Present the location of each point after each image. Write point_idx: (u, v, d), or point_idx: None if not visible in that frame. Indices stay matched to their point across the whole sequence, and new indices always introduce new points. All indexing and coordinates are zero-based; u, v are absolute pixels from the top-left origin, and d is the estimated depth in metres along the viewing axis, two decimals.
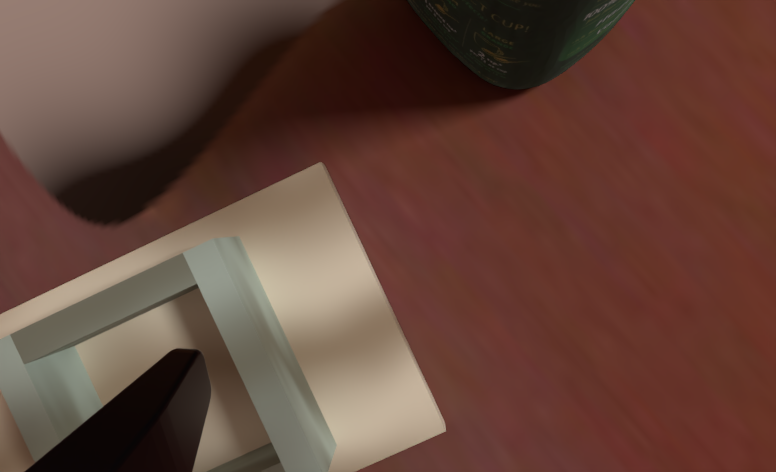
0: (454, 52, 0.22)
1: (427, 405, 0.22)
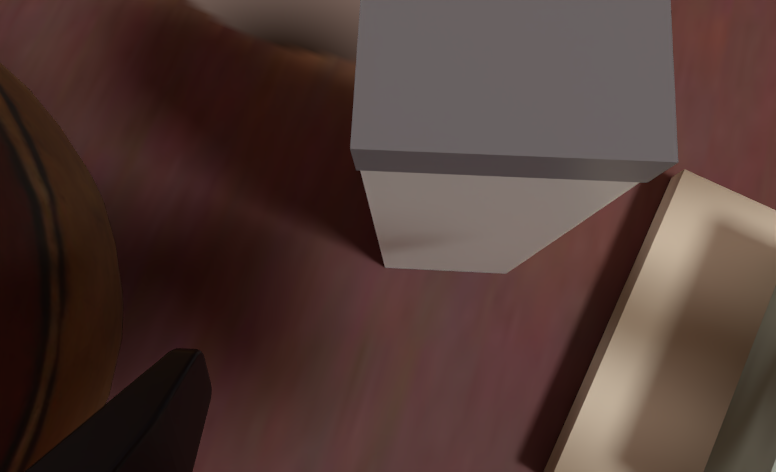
0: None
1: None
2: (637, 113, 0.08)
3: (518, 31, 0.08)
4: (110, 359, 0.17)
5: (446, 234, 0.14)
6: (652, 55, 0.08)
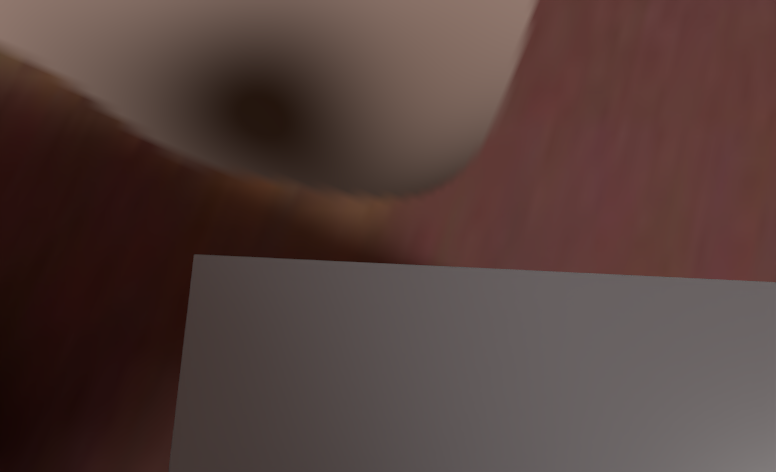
0: None
1: None
2: None
3: None
4: None
5: None
6: None
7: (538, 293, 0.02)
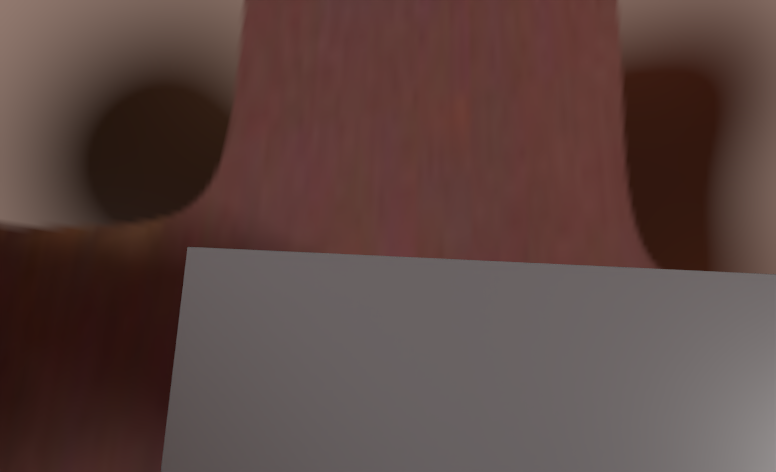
0: None
1: None
2: None
3: None
4: None
5: None
6: None
7: (530, 285, 0.02)
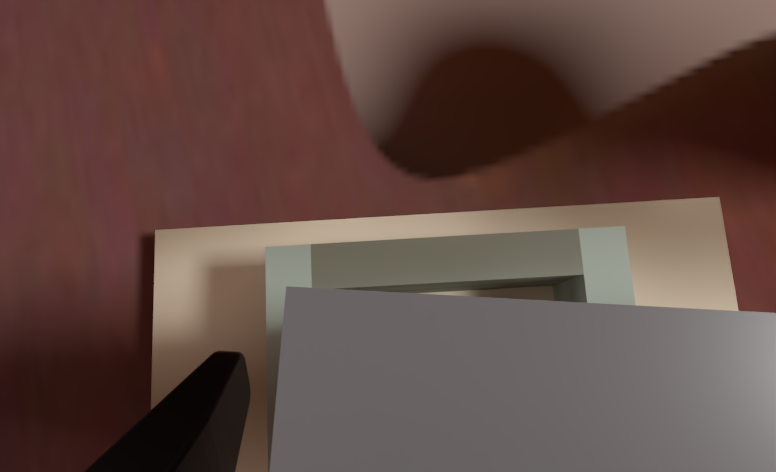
0: None
1: None
2: None
3: None
4: None
5: None
6: None
7: (473, 308, 0.04)
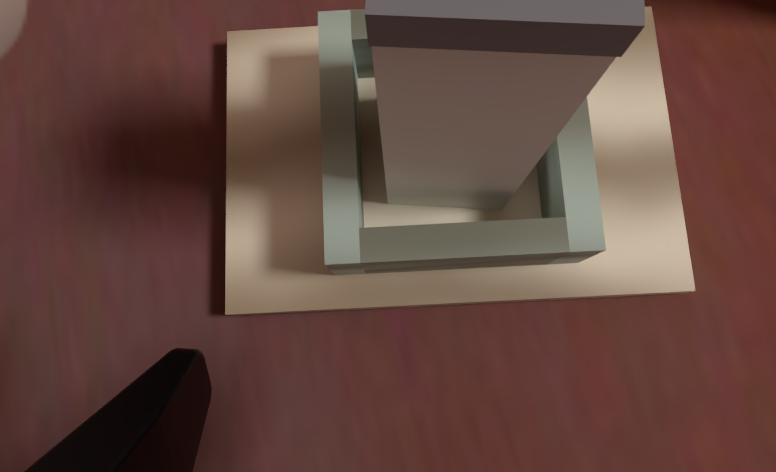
0: None
1: (683, 258, 0.21)
2: None
3: None
4: None
5: (446, 146, 0.15)
6: None
7: None
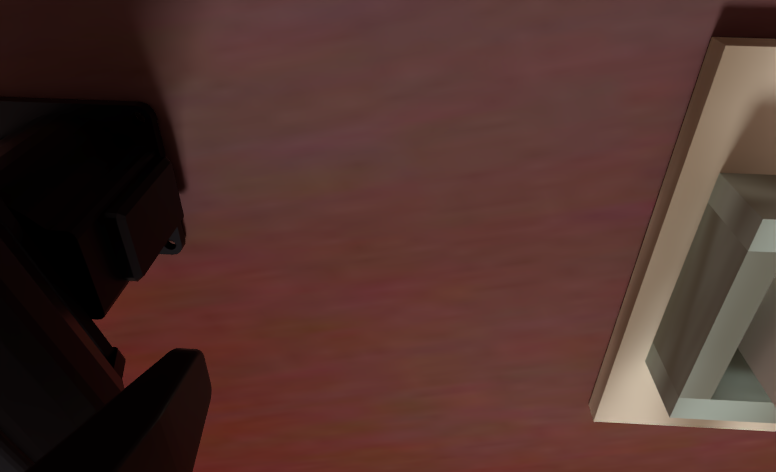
0: None
1: (621, 419, 0.27)
2: None
3: None
4: None
5: None
6: None
7: None
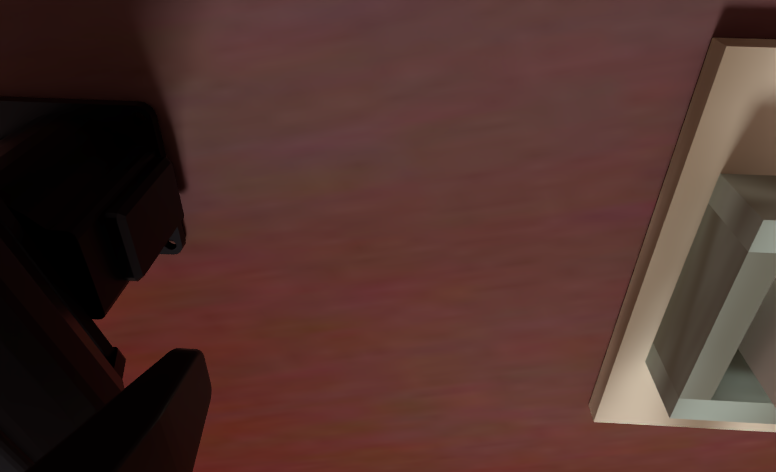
0: None
1: (621, 419, 0.27)
2: None
3: None
4: None
5: None
6: None
7: None
